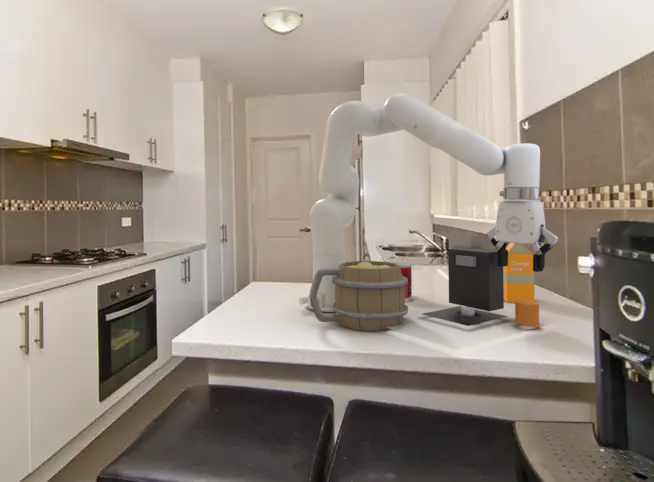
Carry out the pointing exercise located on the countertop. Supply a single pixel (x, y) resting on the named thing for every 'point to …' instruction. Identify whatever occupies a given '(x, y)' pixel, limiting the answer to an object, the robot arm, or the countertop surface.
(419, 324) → the countertop surface
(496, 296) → the coffee maker
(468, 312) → the button
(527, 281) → the orange juice
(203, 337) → the countertop surface
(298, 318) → the countertop surface
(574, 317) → the countertop surface
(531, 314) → the container
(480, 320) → the base
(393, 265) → the mug
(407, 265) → the canned food
